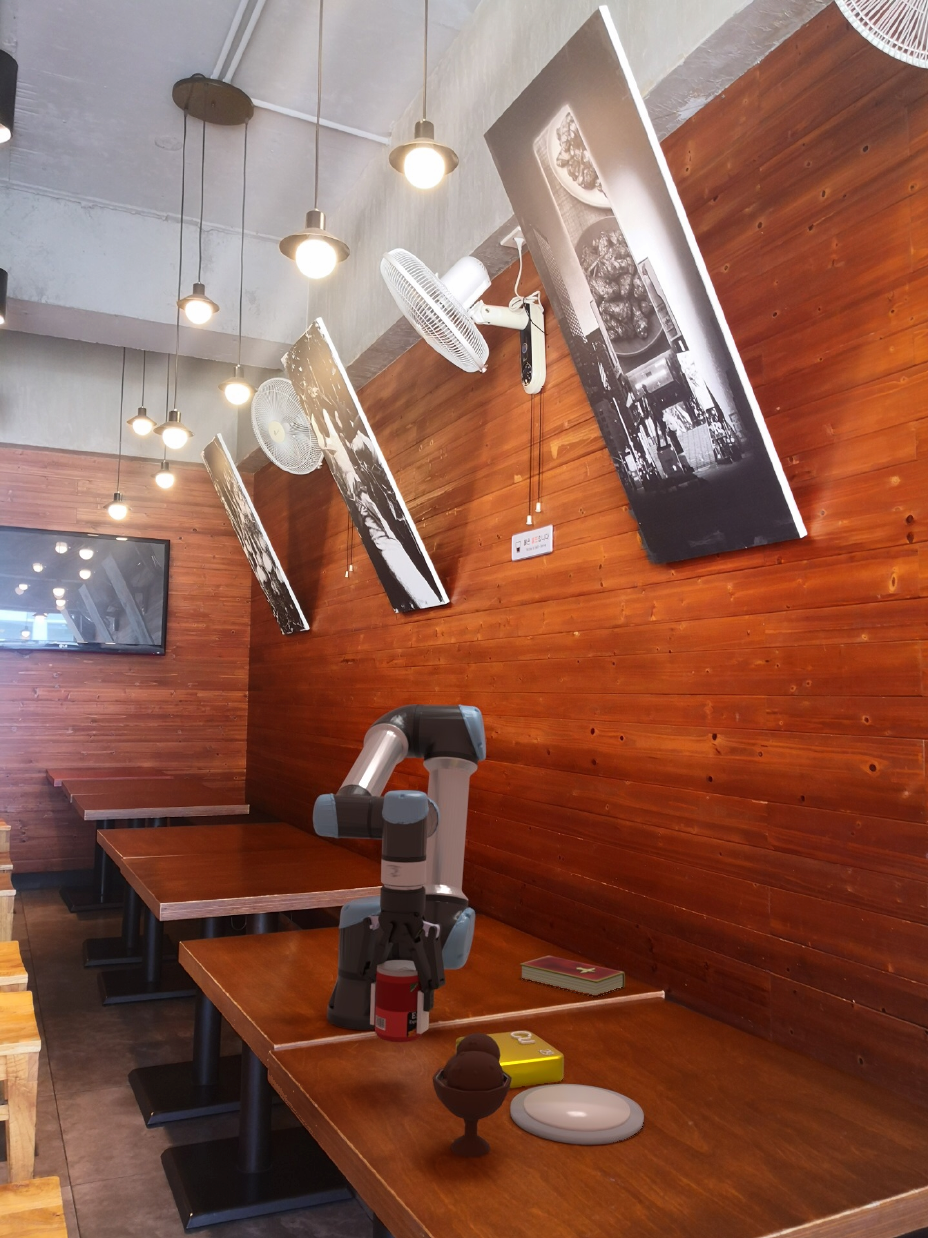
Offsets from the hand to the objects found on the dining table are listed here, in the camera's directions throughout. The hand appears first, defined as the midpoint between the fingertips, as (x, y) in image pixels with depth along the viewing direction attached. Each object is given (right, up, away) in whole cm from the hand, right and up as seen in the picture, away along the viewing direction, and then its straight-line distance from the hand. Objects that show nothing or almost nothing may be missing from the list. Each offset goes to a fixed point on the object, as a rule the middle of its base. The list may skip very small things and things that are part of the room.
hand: (399, 1026), depth 157 cm
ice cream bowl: (+12, -7, -24) cm, 28 cm away
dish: (+28, -8, -12) cm, 31 cm away
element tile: (+18, -11, +6) cm, 22 cm away
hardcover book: (+35, -17, +63) cm, 74 cm away
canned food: (0, -1, 0) cm, 2 cm away
